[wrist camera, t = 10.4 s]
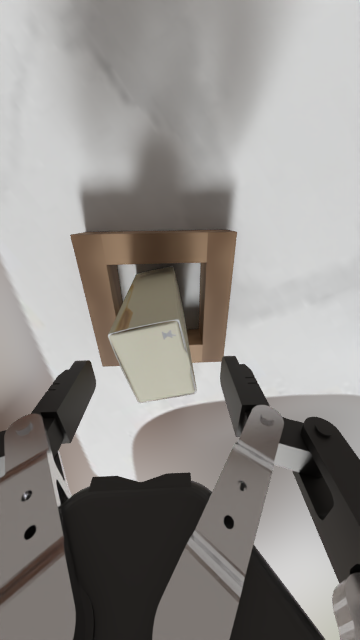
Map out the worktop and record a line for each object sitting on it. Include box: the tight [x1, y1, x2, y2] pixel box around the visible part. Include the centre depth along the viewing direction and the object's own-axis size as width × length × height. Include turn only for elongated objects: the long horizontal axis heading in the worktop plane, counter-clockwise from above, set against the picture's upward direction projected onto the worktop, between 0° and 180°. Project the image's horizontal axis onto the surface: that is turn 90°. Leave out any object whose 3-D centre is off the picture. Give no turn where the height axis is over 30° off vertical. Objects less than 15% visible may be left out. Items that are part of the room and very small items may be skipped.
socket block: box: [70, 230, 237, 366], centre depth 22 cm, size 14×14×4 cm
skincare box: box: [108, 266, 197, 403], centre depth 18 cm, size 6×4×12 cm
